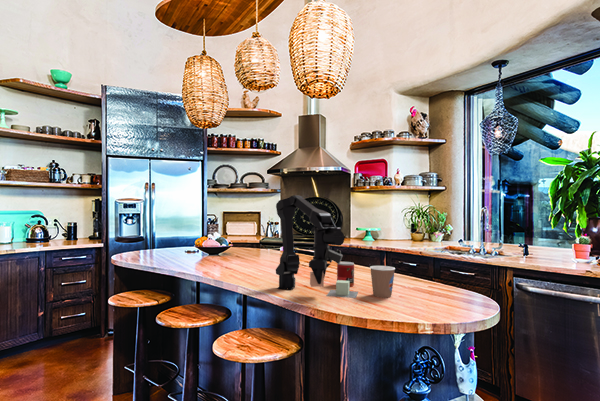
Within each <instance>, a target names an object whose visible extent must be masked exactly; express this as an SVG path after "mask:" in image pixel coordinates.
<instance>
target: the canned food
mask: <svg viewBox="0 0 600 401" xmlns="http://www.w3.org/2000/svg"><path fill="white" fill-rule="evenodd" d="M336 267H337V268H336V282H337V281H338V280H343V281H350V287H349V288H352V287H354V286H355V263H354V262H353V261H352V262H351V261H341V262H340V263H336Z"/></svg>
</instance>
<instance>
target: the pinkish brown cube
mask: <svg viewBox="0 0 600 401" xmlns="http://www.w3.org/2000/svg"><path fill="white" fill-rule="evenodd" d="M309 277H310V278H309V285H310V287H311V288H313V287H314V288H316V287H317V288H319V287H320V288H321V287H322V288H324V286H325V285H324V284H325V283H324V282H325V277H324V274H323V275H322V281H321V284H318V283H317V280H316V278H315V275H314V273H313V271H310V272H309Z"/></svg>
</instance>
